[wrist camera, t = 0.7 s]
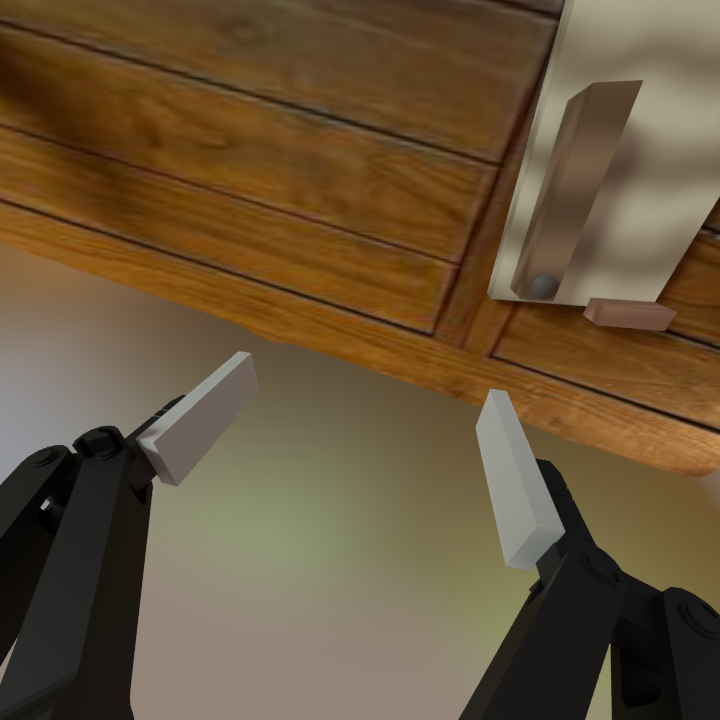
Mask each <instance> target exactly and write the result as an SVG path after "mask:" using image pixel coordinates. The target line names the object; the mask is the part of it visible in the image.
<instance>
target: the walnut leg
mask: <svg viewBox="0 0 720 720" xmlns="http://www.w3.org/2000/svg"><path fill="white" fill-rule="evenodd" d="M643 81H644V80H634V81H613V82H594V83H592V84H591V85H589V86H588V87H587V88H585V89H584V90H582V91H581V92H579V93H578V94H576V95H575V96H574V97H572V98H571V99H569V100H568V102H567V105H566V108H565V111H564V115H563V118H562V121H561V124H560V127H559V131H558V134H557V137H556V140H555V143H554V147H553V150H552V153H551V156H550V160H549V163H548V166H547V169H546V172H545V176H544V179H543V182H542V185H541V189H540V192H539V195H538V198H537V201H536V205H535V208H534V211H533V214H532V218H531V221H530V224H529V227H528V230H527V234H526V237H525V240H524V243H523V246H522V250H521V253H520V256H519V259H518V263H517V266H516V269H515V272H514V275H513V279H512V282H511V285H510V289H511V290H512V291H513V292H514V293H515V294H516V295H517V296H518V297H519V298H520V299H526V300H539V301H552V302H553V301H554V299H555V296H556V294H557V291H558V289H559V287H560V284H561V282H562V279H563V277H564V274H565V272H566V269H567V267H568V264H569V262H570V260H571V257H572V255H573V252H574V250H575V247H576V245H577V242H578V240H579V238H580V235H581V233H582V230H583V228H584V225H585V223H586V220H587V218H588V215H589V213H590V211H591V208H592V206H593V203H594V201H595V198H596V196H597V193H598V191H599V188H600V186H601V184H602V181H603V179H604V176H605V174H606V171H607V169H608V166H609V164H610V162H611V159H612V157H613V154H614V152H615V149H616V147H617V144H618V142H619V139H620V137H621V135H622V132H623V130H624V127H625V125H626V122H627V120H628V117H629V115H630V113H631V110H632V108H633V105H634V103H635V100H636V98H637V95H638V93H639V90H640V88H641V86H642V83H643Z"/></svg>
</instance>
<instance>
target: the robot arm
mask: <svg viewBox="0 0 720 720" xmlns="http://www.w3.org/2000/svg"><path fill="white" fill-rule="evenodd" d="M258 391H259V389H258V384H257V379H256V375H255V370H254V365H253V361H252V356H251V353H246V352H238V353H236V354H235V355H234V356H233V357H232V358H231V359H229V360H228V361H227V362H226V363H225V364H223V365H222V366H221V367H220V368H219V369H218V370H216V371H215V372H214V373H213V374H212V375H210V376H209V377H208V378H207V379H206V380H205V381H203V382H202V383H201V384H200V385H199V386H197V387H196V388H195V389H194V390H193V391H191V392H190V393H189V394H188V395H187V396H186V395H182V396H180V397H178V398H176V399H174V400H172V401H171V402H169V403H168V404H167V405H166V406H165V407H163V408H162V410H160V411H158V412H157V413H156V414H155V415H154V417H151V418H150V419H149V420H147V421H146V422H145V423H144V424H142V425H141V426H140V427H139V428H137V429H136V430H135V431H134V432H133V433H131V434H130V435H129V436H128V437H127V438H125V439H124V437H123V436H122V434H121V433H120V431H119V429H118V428H116V427H115V426H102V427H98V428H95V429H92V430H90V431H88V432H86V433H85V434H83V435H82V436H80V437H79V438H78V439H76V440H75V442H74V443H73V445H72V446H73V447H74V448H75V450H76V451H77V452H78V453H74V454H73V453H71V451H69V449H68V448H67V447H66V446H64V445H54V446H50V447H47V448H44V449H42V450H39V451H37V452H35V453H34V454H32V455H30V456H29V457H27V458H26V459H25V460H24V461H23V462H21V464H20V465H19V466H18V467H17V468H16V469H15V470H14V471H13V472H12V473H11V474H10V475H9V477H8V478H7V479H6V480H5V481H4V482H3V483H2V484H1V485H0V666H1V664H2V663H3V661H4V659H5V658H6V656H7V654H8V652H9V651H10V649H11V647H12V646H13V644H14V642H15V640H16V638H17V637H18V638H17V641H16V644H15V646H14V649H13V652H12V655H11V657H10V660H9V663H8V665H7V668H6V671H5V673H4V676H3V679H2V681H1V684H0V720H134V716H133V712H132V709H131V706H130V688H131V679H132V670H133V661H134V652H135V643H136V634H137V625H138V616H139V607H140V598H141V589H142V580H143V571H144V562H145V553H146V544H147V536H148V527H149V518H150V507H151V499H152V490H153V484H152V481H151V480H152V479H153V478H154V477H155V476H156V475H158V477H159V478H160V480H161V482H162V483H165V484H170V485H174V486H179V484H180V483H181V482H182V481H183V480H184V478H185V477H186V476H187V475H188V474H189V473H190V471H191V470H192V469H193V468H194V467H195V466H196V464H197V463H198V462H199V461H200V460H201V458H202V457H203V456H204V455H205V454H206V453H207V451H208V450H209V449H210V448H211V447H212V445H213V444H214V443H215V442H216V441H217V440H218V438H219V437H220V436H221V435H222V433H223V432H224V431H225V430H226V429H227V428H228V427H229V425H230V424H231V423H232V421H234V419H235V418H236V417H237V415H239V413H240V412H241V411H242V410H243V409H244V407H245V406H246V405H247V404H248V403H249V402H250V400H251V399H252V398H253V397H254V396H255V395H256V393H257V392H258ZM476 432H477V436H478V441H479V445H480V450H481V455H482V460H483V464H484V469H485V473H486V477H487V482H488V487H489V491H490V496H491V501H492V505H493V510H494V514H495V519H496V523H497V528H498V532H499V537H500V542H501V546H502V551H503V555H504V560H505V564H506V566H508V567H512V568H516V569H520V570H525V571H530V570H531V569H532V568H533V567H534V566H535V565H537V568H538V572H539V575H540V579H539V580H538V581H537V582H536V583H535V584H534V585H533V586H532V587H531V588H530V589H529V590H530V591H531V593H530V595H529V596H528V598H527V600H526V602H525V604H524V605H523V607H522V609H521V610H520V612H519V614H518V616H517V618H516V619H515V621H514V623H513V625H512V626H511V628H510V630H509V632H508V634H507V635H506V637H505V639H504V640H503V642H502V644H501V646H500V648H499V649H498V651H497V653H496V654H495V656H494V658H493V660H492V661H491V663H490V665H489V667H488V669H487V670H486V672H485V674H484V676H483V677H482V679H481V681H480V683H479V684H478V686H477V688H476V690H475V691H474V693H473V695H472V697H471V698H470V700H469V702H468V704H467V706H466V707H465V709H464V711H463V713H462V714H461V716H460V718H459V720H585V718H586V715H587V712H588V709H589V705H590V702H591V699H592V696H593V693H594V690H595V687H596V684H597V681H598V678H599V674H600V671H601V668H602V665H603V662H604V659H605V656H606V653H607V650H608V646H609V643H610V644H611V696H612V720H720V615H719V614H718V613H717V612H716V611H715V610H714V609H713V608H712V607H711V606H710V605H709V604H708V603H706V602H705V601H703V600H702V599H700V598H699V597H697V596H696V595H695V594H693V593H691V592H688V591H686V590H684V589H682V588H675V587H670V588H668V589H666V590H665V591H663V592H661V591H659V590H657V589H655V588H654V587H652V586H650V585H648V584H646V583H644V582H642V581H640V580H638V579H636V578H634V577H632V576H630V575H628V574H627V573H625V572H623V571H622V570H621V569H620V568H619V566H618V565H617V563H616V562H615V561H614V560H613V559H612V558H611V557H610V556H609V555H608V554H607V553H606V552H605V551H603V550H602V549H600V548H598V547H597V546H596V544H595V542H594V541H593V539H592V536H591V534H590V532H589V530H588V528H587V526H586V524H585V522H584V520H583V518H582V516H581V514H580V512H579V510H578V508H577V506H576V504H575V502H574V500H572V495H571V493H570V492H569V489H567V485H566V483H565V481H564V479H563V477H562V475H561V473H560V472H559V471H558V470H557V469H556V468H555V467H554V465H553V464H552V463H551V462H550V461H546V460H541V459H535V458H534V456H533V453H532V451H531V449H530V446H529V444H528V441H527V439H526V436H525V434H524V432H523V429H522V427H521V425H520V422H519V420H518V417H517V415H516V413H515V410H514V408H513V405H512V403H511V401H510V398H509V396H508V393H507V391H502V390H495V389H490V391H489V394H488V396H487V399H486V402H485V404H484V407H483V409H482V412H481V415H480V417H479V420H478V422H477V425H476ZM45 500H47V501H49V502H50V503H49V505H48V506H47V507H46V508H45V509H44V510H42V509H41V508H40V507H41V506H42V504H43V503H44V501H45ZM18 635H19V636H18Z"/></svg>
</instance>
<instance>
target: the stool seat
mask: <svg viewBox="0 0 720 720" xmlns="http://www.w3.org/2000/svg"><path fill="white" fill-rule="evenodd" d="M634 80H644V81H643V83H642V86H641V88H640V90H639V93H638V95H637V98H636V100H635V103H634V105H633V108H632V110H631V113H630V115H629V117H628V120H627V122H626V125H625V127H624V130H623V132H622V135H621V137H620V139H619V142H618V144H617V147H616V149H615V152H614V154H613V157H612V159H611V162H610V164H609V166H608V169H607V171H606V174H605V176H604V179H603V181H602V184H601V186H600V188H599V191H598V193H597V196H596V198H595V201H594V203H593V206H592V208H591V211H590V213H589V215H588V218H587V220H586V223H585V225H584V228H583V230H582V233H581V235H580V238H579V240H578V242H577V245H576V247H575V250H574V252H573V255H572V257H571V260H570V262H569V264H568V267H567V269H566V272H565V274H564V277H563V279H562V282H561V284H560V287H559V289H558V291H557V294H556V296H555V299H554V301H553V302H552V301H539V300H526V299H520V298H519V297H518V296H517V295H516V294H515V293H514V292H513V291H512V290H511V289H510V285H511V282H512V279H513V275H514V272H515V269H516V266H517V263H518V259H519V256H520V253H521V250H522V246H523V243H524V240H525V237H526V234H527V230H528V227H529V224H530V221H531V218H532V214H533V211H534V208H535V205H536V201H537V198H538V195H539V192H540V189H541V185H542V182H543V179H544V176H545V172H546V169H547V166H548V163H549V160H550V156H551V153H552V150H553V147H554V143H555V140H556V137H557V134H558V131H559V127H560V124H561V121H562V118H563V115H564V111H565V108H566V105H567V102H568V100H569V99H571V98H572V97H574V96H575V95H576V94H578V93H579V92H581V91H582V90H584V89H585V88H587V87H588V86H589V85H591V84H592V83H594V82H613V81H634ZM719 197H720V0H566V1H565V5H564V8H563V12H562V16H561V20H560V23H559V27H558V31H557V34H556V38H555V42H554V46H553V49H552V53H551V57H550V60H549V64H548V68H547V72H546V75H545V79H544V83H543V87H542V90H541V94H540V98H539V101H538V105H537V109H536V113H535V116H534V120H533V124H532V127H531V131H530V135H529V139H528V142H527V146H526V150H525V154H524V157H523V161H522V165H521V168H520V172H519V176H518V180H517V183H516V187H515V191H514V194H513V198H512V202H511V206H510V209H509V213H508V217H507V220H506V224H505V228H504V232H503V235H502V239H501V243H500V247H499V250H498V254H497V258H496V261H495V265H494V269H493V273H492V276H491V280H490V284H489V287H488V291H487V293H488V295H489V296H490V298H491V299H498V300H511V301H525V302H538V303H551V304H564V305H577V306H587V307H586V309H585V311H584V313H583V315H584V316H585V317H586V318H588V319H589V320H591V321H592V322H593V323H595V324H596V325H600V326H612V327H624V328H635V329H647V330H658V331H665V330H666V328H667V327H668V325H669V324H670V322H671V321H672V319H673V318H674V316H675V315H676V314H677V312H676V311H674V310H672V309H669V308H667V307H665V306H663V305H660V304H658V303H656V302H655V301H656V299H657V297H658V296H659V294H660V293H661V291H662V289H663V288H664V286H665V284H666V283H667V281H668V280H669V278H670V276H671V275H672V273H673V271H674V270H675V268H676V267H677V265H678V263H679V262H680V260H681V258H682V257H683V255H684V254H685V252H686V250H687V249H688V247H689V245H690V244H691V242H692V240H693V239H694V237H695V236H696V234H697V232H698V231H699V229H700V227H701V226H702V224H703V223H704V221H705V219H706V218H707V216H708V214H709V213H710V211H711V210H712V208H713V206H714V205H715V203H716V201H717V200H718V198H719Z"/></svg>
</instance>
